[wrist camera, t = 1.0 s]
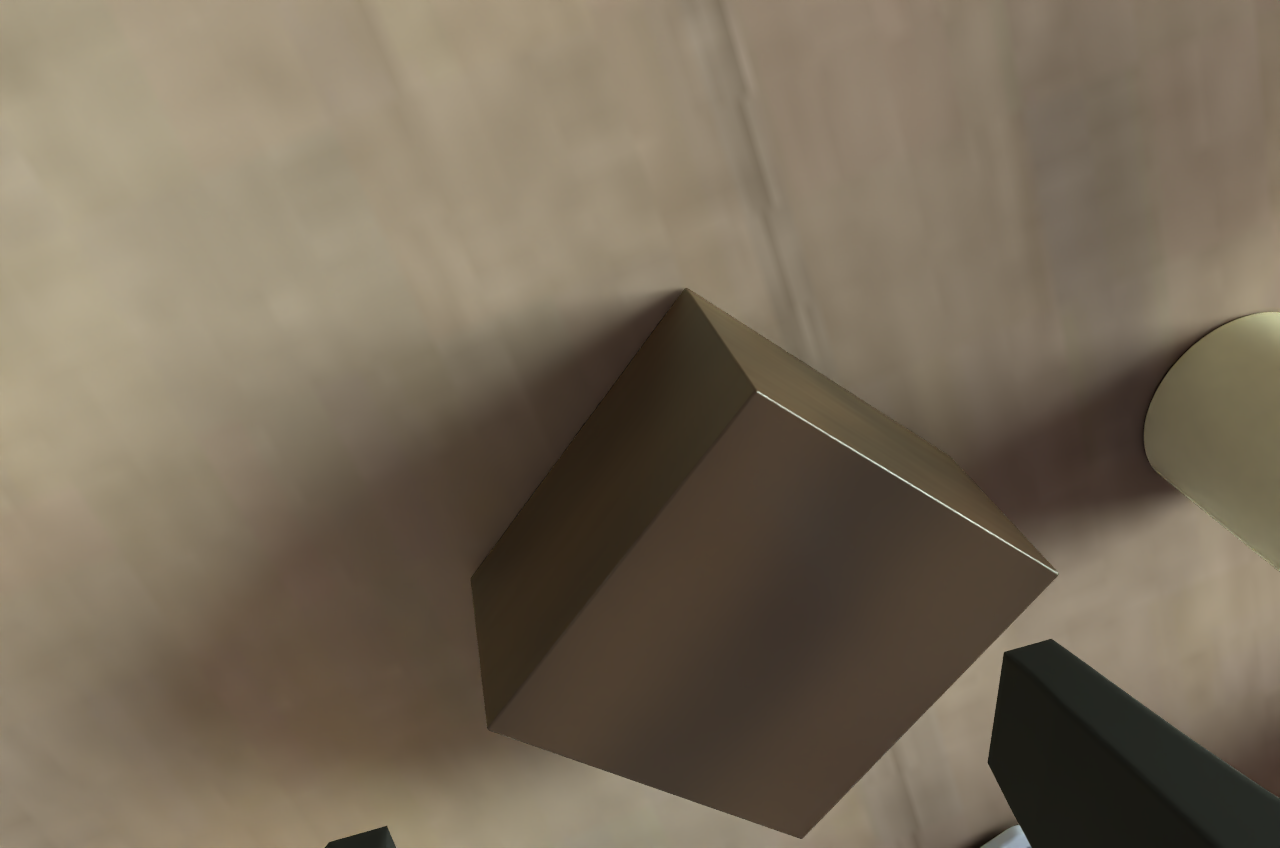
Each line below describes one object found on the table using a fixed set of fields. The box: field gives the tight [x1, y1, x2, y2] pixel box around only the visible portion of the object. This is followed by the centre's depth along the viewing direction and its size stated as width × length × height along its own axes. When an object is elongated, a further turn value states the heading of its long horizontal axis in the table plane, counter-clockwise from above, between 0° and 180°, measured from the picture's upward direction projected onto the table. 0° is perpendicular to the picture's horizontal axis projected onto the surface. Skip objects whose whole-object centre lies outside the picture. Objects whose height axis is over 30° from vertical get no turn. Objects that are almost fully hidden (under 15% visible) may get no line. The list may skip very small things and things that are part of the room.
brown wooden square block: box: [471, 288, 1059, 839], centre depth 21 cm, size 8×8×4 cm
